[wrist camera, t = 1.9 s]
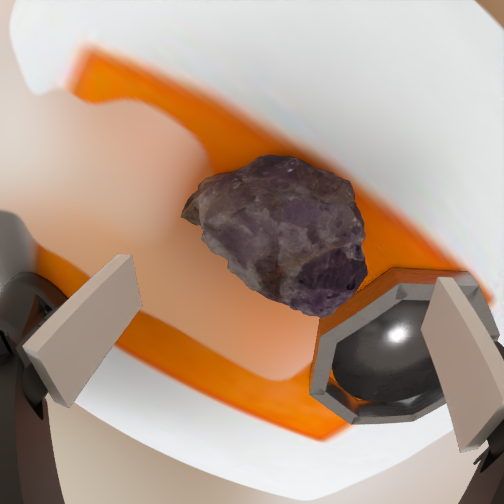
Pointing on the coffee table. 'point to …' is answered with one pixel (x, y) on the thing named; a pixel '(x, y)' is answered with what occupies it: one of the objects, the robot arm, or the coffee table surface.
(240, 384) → the coffee table surface
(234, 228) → the rock
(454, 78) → the coffee table surface
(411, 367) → the collar
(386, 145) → the coffee table surface
